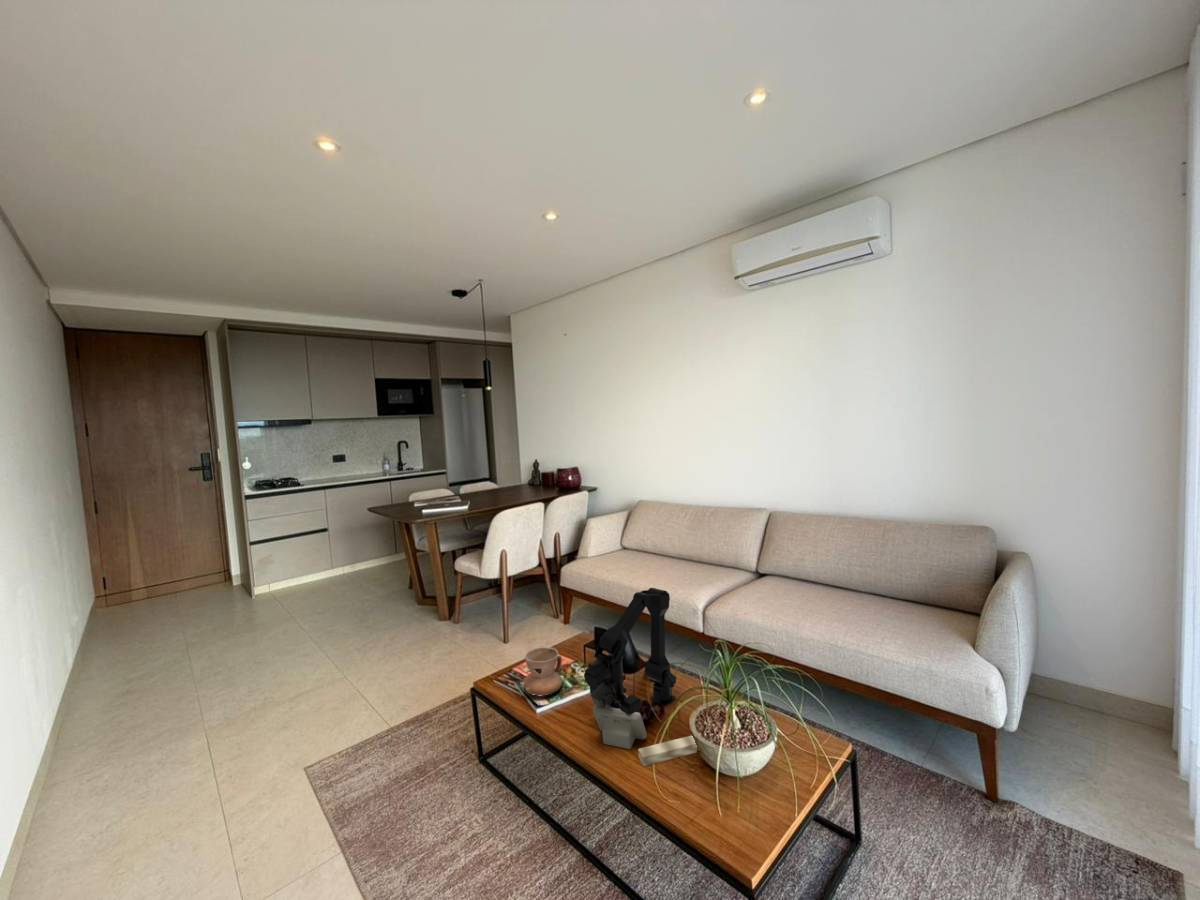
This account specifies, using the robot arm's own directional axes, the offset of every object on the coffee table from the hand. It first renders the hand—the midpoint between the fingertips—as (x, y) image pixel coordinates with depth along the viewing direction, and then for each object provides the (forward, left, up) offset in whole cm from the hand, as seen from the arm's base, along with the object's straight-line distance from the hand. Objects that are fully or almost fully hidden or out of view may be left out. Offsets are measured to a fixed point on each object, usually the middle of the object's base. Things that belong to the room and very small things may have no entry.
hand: (616, 721), depth 157 cm
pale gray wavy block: (-3, +19, -4) cm, 20 cm away
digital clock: (+1, +3, -3) cm, 5 cm away
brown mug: (0, -39, -4) cm, 39 cm away
